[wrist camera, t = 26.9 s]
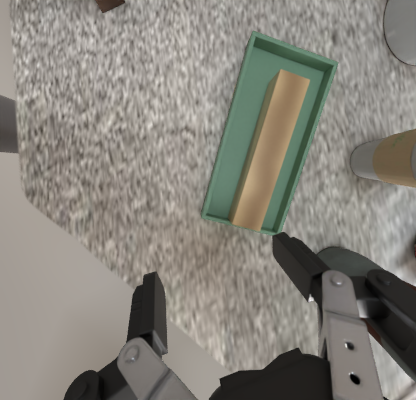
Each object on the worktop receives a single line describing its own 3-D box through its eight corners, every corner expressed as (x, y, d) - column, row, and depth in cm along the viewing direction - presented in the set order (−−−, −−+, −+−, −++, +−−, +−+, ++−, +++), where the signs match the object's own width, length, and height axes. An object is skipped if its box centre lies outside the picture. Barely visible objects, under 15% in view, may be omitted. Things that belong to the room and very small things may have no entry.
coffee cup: (366, 120, 32) (514, 79, 17) (402, 156, 33) (566, 146, 19) (329, 165, 33) (440, 163, 18) (365, 198, 34) (495, 221, 19)
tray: (272, 232, 34) (279, 237, 31) (200, 213, 32) (201, 218, 30) (325, 72, 30) (338, 62, 28) (247, 43, 29) (253, 30, 26)
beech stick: (227, 217, 32) (232, 224, 28) (269, 82, 29) (280, 68, 25) (251, 224, 33) (259, 231, 29) (295, 91, 30) (310, 79, 26)
